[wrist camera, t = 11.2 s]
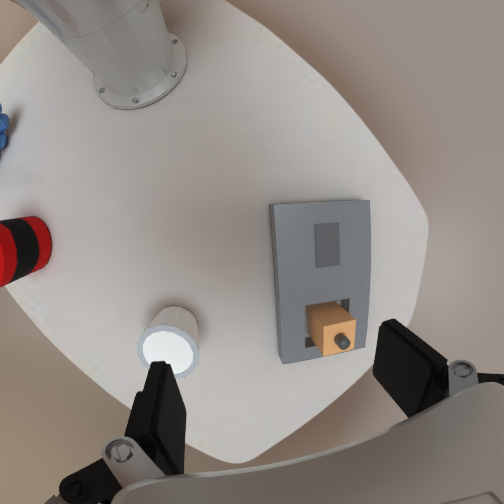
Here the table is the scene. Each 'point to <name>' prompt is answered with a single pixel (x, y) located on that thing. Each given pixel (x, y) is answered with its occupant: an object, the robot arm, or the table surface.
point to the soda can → (22, 248)
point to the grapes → (3, 128)
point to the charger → (330, 327)
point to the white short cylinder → (171, 341)
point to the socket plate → (319, 268)
